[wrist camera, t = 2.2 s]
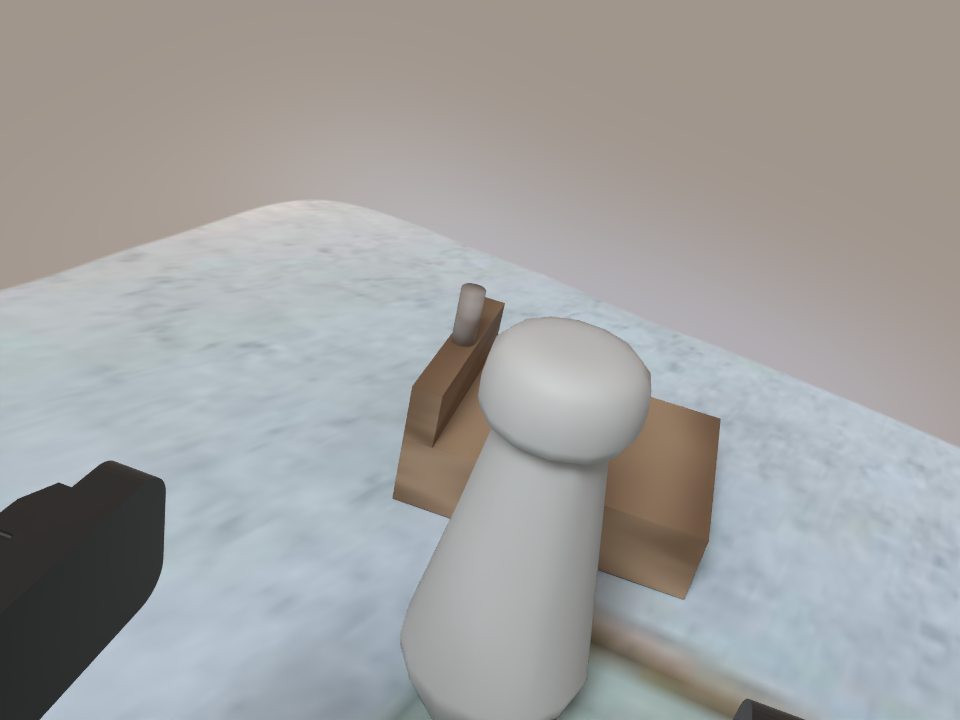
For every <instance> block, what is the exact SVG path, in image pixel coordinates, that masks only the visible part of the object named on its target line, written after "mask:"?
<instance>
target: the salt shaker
mask: <svg viewBox="0 0 960 720" xmlns="http://www.w3.org/2000/svg"><path fill="white" fill-rule="evenodd" d="M650 397H651V375H650V372H649V370H648V369H647V367H646V366H645V365H644V363H643V362H642V360H641V359H640V358H639V356H638V355H637V354H636V353H635V351H634V350H633V349H632V347H631V346H630V345H629V344H628V343H627V342H625V341H623V340H622V339H620V338H618V337H617V336H615V335H613V334H612V333H610V332H609V331H607V330H605V329H602V328H599V327H596V326H593V325H590V324H588V323H585V322H582V321H579V320H572V319H565V318H557V317H542V318H531V319H525V320H524V321H522V322H520V323H518V324H516V325H514V326H513V327H511V328H509V329H507V330H506V331H504V332H502V333H500V334H499V335H497V336H496V338H495V341H494V343H493V345H492V347H491V350H490V352H489V354H488V357H487V360H486V362H485V365H484V368H483V371H482V375H481V380H480V386H479V392H478V399H479V406H480V408H481V410H482V412H483V414H484V416H485V418H486V420H487V422H488V424H489V426H490V428H491V430H490V433H489V435H488V437H487V439H486V442H485V444H484V446H483V448H482V451H481V453H480V455H479V457H478V459H477V462H476V464H475V466H474V468H473V471H472V473H471V475H470V477H469V480H468V482H467V484H466V486H465V489H464V491H463V493H462V495H461V498H460V500H459V502H458V504H457V506H456V508H455V510H454V512H453V514H452V516H451V519H450V521H449V523H448V525H447V527H446V529H445V531H444V533H443V535H442V537H441V539H440V541H439V543H438V545H437V547H436V550H435V552H434V554H433V556H432V558H431V560H430V562H429V564H428V566H427V568H426V570H425V572H424V574H423V576H422V578H421V580H420V583H419V585H418V587H417V589H416V591H415V593H414V595H413V597H412V599H411V601H410V604H409V607H408V610H407V614H406V617H405V620H404V623H403V626H402V629H401V642H400V645H401V648H402V652H403V656H404V660H405V663H406V667H407V671H408V675H409V678H410V680H411V682H412V684H413V686H414V687H415V689H416V691H417V693H418V695H419V696H420V698H421V700H422V702H423V704H424V705H425V707H426V709H427V711H428V712H429V714H430V716H431V718H432V720H553V719H555V718H557V717H558V716H559V715H560V714H561V713H562V711H563V710H564V709H565V708H566V707H567V705H568V704H569V703H570V702H571V700H572V699H573V698H574V697H575V696H576V694H577V693H578V692H579V691H580V689H581V688H582V686H583V685H584V683H585V682H586V680H587V671H588V661H589V651H590V641H591V631H592V621H593V611H594V602H595V592H596V582H597V572H598V562H599V552H600V542H601V532H602V522H603V512H604V502H605V492H606V482H607V472H608V462H609V460H611V459H615V458H616V457H617V456H619V455H620V454H621V453H622V452H623V451H624V450H625V449H626V448H628V447H629V446H630V445H631V444H632V443H633V442H634V441H635V440H636V438H637V437H638V436H639V435H640V433H641V430H642V428H643V426H644V423H645V421H646V419H647V417H648V413H649V405H650Z"/></svg>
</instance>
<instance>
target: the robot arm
mask: <svg viewBox="0 0 960 720" xmlns="http://www.w3.org/2000/svg"><path fill="white" fill-rule="evenodd" d="M165 498H166V488H165V484H164V482H163V480H162V479H160V478H158V477H155V476H153V475H150V474H147V473H144V472H142V471H139V470H136V469H134V468H131V467H128V466H126V465H123V464H120V463H117V462H115V461H106V462H104V463H102V464H100V465H99V466H97V467H96V468H95V469H94V470H92V471H91V472H90V473H89V474H88V475H86V476H85V477H84V478H83V479H81V480H80V481H79V482H78V483H77V484H75V485H74V486H73V487H69V486H67V485H64V484H61V483H57V484H54V485H52V486H49V487H47V488H44V489H42V490H39V491H37V492H34V493H32V494H29V495H27V496H24V497H22V498H19V499H17V500H16V501H15V502H13V503H12V504H11V505H9V506H8V507H7V508H5V509H4V510H3V511H2V512H0V720H40V719H41V718H42V716H43V715H44V714H45V713H46V712H47V711H48V710H49V709H50V708H51V707H52V705H53V704H54V703H55V702H56V701H57V700H58V699H59V698H60V697H61V696H62V694H63V693H64V692H65V691H66V690H67V689H68V688H69V687H70V686H71V684H72V683H73V682H74V681H75V680H76V679H77V678H78V677H79V676H80V675H81V673H82V672H83V671H84V670H85V669H86V668H87V667H88V666H89V665H90V664H91V662H92V661H93V660H94V659H95V658H96V657H97V656H98V655H99V654H100V653H101V651H102V650H103V649H104V648H105V647H106V646H107V645H108V644H109V643H110V642H111V640H112V639H113V638H114V637H115V636H116V635H117V634H118V633H119V632H120V631H121V629H122V628H123V627H124V626H125V625H126V624H127V623H128V622H129V621H130V620H131V618H132V617H133V616H134V615H135V614H136V613H137V612H138V611H139V610H140V609H141V607H142V606H143V605H144V604H145V603H146V601H147V600H148V598H149V597H150V595H151V593H152V592H153V590H154V588H155V586H156V584H157V581H158V579H159V576H160V573H161V570H162V565H163V552H164V525H165ZM733 720H804V719H801V718H799V717H796V716H793V715H791V714H788V713H785V712H783V711H780V710H777V709H774V708H772V707H769V706H766V705H764V704H761V703H758V702H756V701H753V700H750V699H745V700H744V701H743V702H742V704H741V705H740V707H739V709H738V711H737V713H736V714H735V716H734V718H733Z"/></svg>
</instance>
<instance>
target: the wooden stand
mask: <svg viewBox="0 0 960 720" xmlns="http://www.w3.org/2000/svg"><path fill="white" fill-rule="evenodd" d="M485 294H486V289H485V288H484V287H482V286H480V285H477V284H472V283H468V284H464V285H462V288H461V293H460V298H459V303H458V308H457V313H456V318H455V323H454V328H453V333H452V334H451V335H450V337H449V338H448V339H447V341H446V342H445V343H444V345H443V346H442V347H441V349H440V350H439V351H438V353H437V354H436V355H435V357H434V358H433V359H432V361H431V362H430V363H429V365H428V366H427V367H426V369H425V370H424V371H423V373H422V374H421V375H420V377H419V378H418V379H417V381H416V382H415V383H414V385H413V386H412V391H411V397H410V403H409V408H408V414H407V419H406V425H405V431H404V436H403V442H402V448H401V453H400V459H399V464H398V470H397V476H396V481H395V487H394V493H393V499H396V500H399V501H402V502H405V503H408V504H411V505H413V506H416V507H419V508H422V509H425V510H428V511H431V512H434V513H436V514H439V515H442V516H445V517H448V518H451V516H452V514H453V512H454V510H455V508H456V506H457V504H458V502H459V500H460V498H461V495H462V493H463V491H464V489H465V486H466V484H467V482H468V480H469V477H470V475H471V473H472V471H473V468H474V466H475V464H476V462H477V459H478V457H479V455H480V453H481V451H482V448H483V446H484V444H485V442H486V439H487V437H488V435H489V433H490V430H491V428H490V426H489V424H488V422H487V420H486V418H485V416H484V414H483V412H482V410H481V408H480V406H479V399H478V392H479V386H480V380H481V375H482V371H483V368H484V365H485V362H486V360H487V357H488V354H489V352H490V350H491V347H492V345H493V343H494V341H495V338H496V336H497V335H498V331H499V327H500V322H501V318H502V314H503V309H504V305H505V303H502V302H499V301H496V300H492V299H489V298H486V297H485ZM719 429H720V419H719V418H716V417H713V416H710V415H706V414H703V413H700V412H697V411H694V410H691V409H687V408H684V407H681V406H678V405H675V404H671V403H668V402H665V401H662V400H659V399H655V398H652V397H650V405H649V413H648V417H647V419H646V421H645V423H644V426H643V428H642V430H641V433H640V435H639V436H638V437H637V438H636V440H635V441H634V442H633V443H632V444H631V445H630V446H629V447H628V448H626V449H625V450H624V451H623V452H622V453H621V454H620V455H619V456H617V457H616V458H615V459H611V460H609V462H608V472H607V482H606V492H605V502H604V512H603V522H602V532H601V542H600V552H599V562H598V570H600V571H603V572H606V573H609V574H612V575H615V576H618V577H620V578H623V579H626V580H629V581H632V582H635V583H638V584H641V585H643V586H646V587H649V588H652V589H655V590H658V591H661V592H664V593H666V594H669V595H672V596H675V597H678V598H681V599H684V598H685V596H686V594H687V591H688V589H689V587H690V584H691V582H692V579H693V577H694V575H695V572H696V570H697V567H698V565H699V563H700V560H701V558H702V556H703V553H704V551H705V548H706V546H707V544H708V541H709V533H710V522H711V512H712V502H713V491H714V481H715V471H716V460H717V450H718V440H719Z"/></svg>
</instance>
